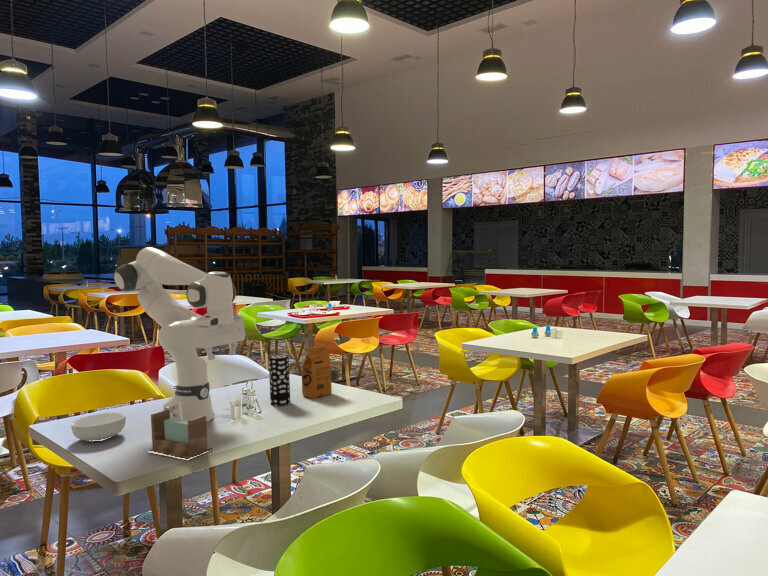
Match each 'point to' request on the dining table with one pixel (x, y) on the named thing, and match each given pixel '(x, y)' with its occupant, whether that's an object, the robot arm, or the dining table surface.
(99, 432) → the cereal bowl
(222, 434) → the dining table surface
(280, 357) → the spotted tube
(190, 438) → the wooden u-shaped stand
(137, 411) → the dining table surface
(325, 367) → the coffee package
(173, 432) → the door panel
